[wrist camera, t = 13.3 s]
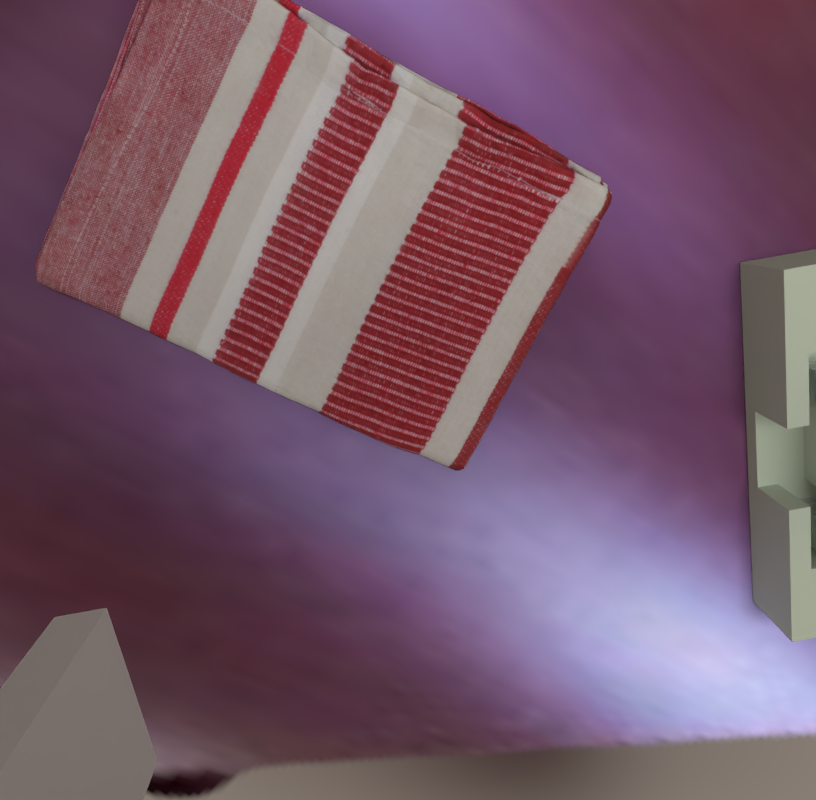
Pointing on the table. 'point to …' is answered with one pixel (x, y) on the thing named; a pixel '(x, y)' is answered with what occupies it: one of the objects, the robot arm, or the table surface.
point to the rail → (781, 435)
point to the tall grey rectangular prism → (815, 402)
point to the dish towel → (319, 220)
